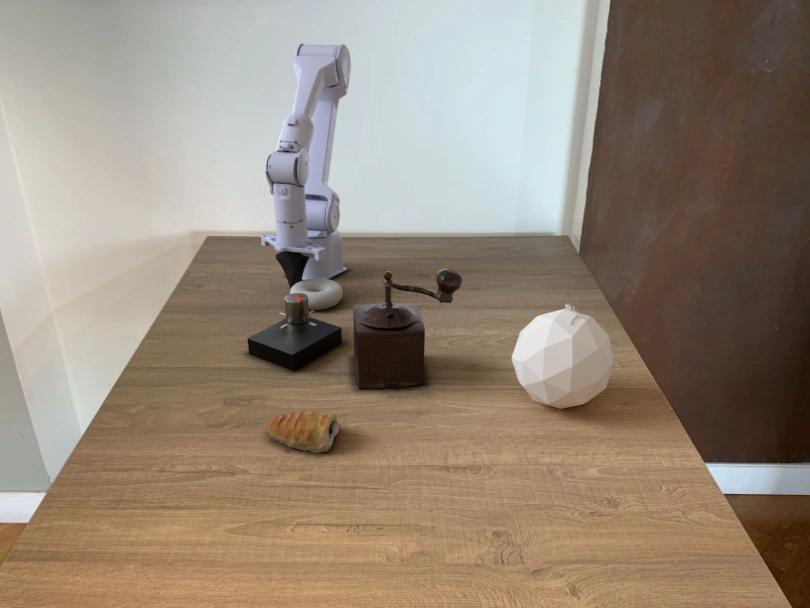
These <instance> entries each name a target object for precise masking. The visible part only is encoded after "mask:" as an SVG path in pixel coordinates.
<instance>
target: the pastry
mask: <svg viewBox="0 0 810 608" xmlns="http://www.w3.org/2000/svg"><path fill="white" fill-rule="evenodd" d="M266 430H267V432H268V434H269V436H270V437H271V438H272V439H273V440H274V441H275V442H279V443H280V444H283V445H285V446H287V447H288V448H292V449H295V450H299V451H300V450H301V451H309V452H310V453H315V454H316V453H317V454H319V453H325V452H328V451H329V450H330V448H331V447H332V445H333V443H334V438H335V437H336V436H337V435H338V434H339V431H340V425H339V421H338V418H337V416H336V415H335V414H334V413H333V412H330V413H326V412H322V411H315V410H312V409H307V410H305V411H303V412H302V411H301V412H289V413H285V414H281V415H278V416H276V417H274V418H273V419H272V420H271V421H270V422H269V423H267V425H266Z"/></svg>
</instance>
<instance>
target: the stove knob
mask: <svg viewBox="0 0 810 608" xmlns="http://www.w3.org/2000/svg"><path fill="white" fill-rule="evenodd" d="M283 299H284V300H283V301H284V314H285V315H286V316H285V319H286V321H287V322H288V323H290V324H303V323H306V322H308V321H309V319H310V318H309V317H310V314H309V312H310V310H309V301H308V296H307V295H306V294H303V293H292V294H290V293H289V294H286V295H285V296H284V297H283Z"/></svg>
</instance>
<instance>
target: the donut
mask: <svg viewBox="0 0 810 608" xmlns="http://www.w3.org/2000/svg"><path fill="white" fill-rule="evenodd" d="M292 293H303V294H306V295H307V296H308V301H309V311H312V310H313V311H319V310H326V309H329V308H332V307H334V306H336V305H338V304H339V303H340V302H341V300H342V299H343V293H344V292H343V288H342V287H341V285H340V284H339V283H337V282H336V281H334V280H332V279H330V278H329V279H323V278H312V279H306V280H302V281H300V282H298V283H296V284H295V285H294V286H293V287H292V288H291V289H290V290H289V294H292Z"/></svg>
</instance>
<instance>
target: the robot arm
mask: <svg viewBox="0 0 810 608" xmlns="http://www.w3.org/2000/svg"><path fill="white" fill-rule="evenodd" d="M292 58H293V59H292V65H293V66H292V67H293V70H294V74H295V78H296V81H297V84H296V91H295V96H294V101H293V107H292V112H291V114H289V115H287V116H286V117H284V119H283V123H282V126H281V130H280V134H279V138H278V140H277V144H276V147H275V151H273V153H270V154H269V155H268V156H267V159H266V162H265V170H264V171H265V178H266V181H267V183H268V185H269V192H270V194H271V195H272V196H273V207H274V209H273V210H274V221H275V234H273V233H264V234H262V235H261V236H260V241H261V242H260V243H261V246H262V247H272V248H274V251H276V252H278V253H276V254H275V259H276V261H277V262H278V264H279V265H280V267H281V268H282V271H283V273H284V275H285V278H286V281H287V283H288V286H289V289H290V290H291V288H292V287H293V286H294V285H295V284H296V283H298V282H300V281H302V280H306V279H312V278H323V279H329V280H330V279H331V278H333V277H335V276H337V275H340V274H343V273H344V272H346V271H347V267H345V266H344V248H343V237H342V236H341V233H340V232H339V231H338V227H339V226H340V225H339V224H340V218H341V212H340V211H341V209H340V203H341V199H340V196H339V195H338V193H337V191H335V190H334V188H332V186H330V185H329V177H330V170H331V163H332V155H333V147H334V139H335V132H336V125H337V124H336V123H337V116H338V110H339V104H340V100H341V99H343V98H344V97H345V96H346V95H347V94H348V90H349V87H350V80H351V79H350V78H351V72H352V61H351V60H352V59H351V53H350V50H349V48H348V47H347V45H345V44H304V43H299V44H297V46H296V47H295V49H294V51H293V55H292Z"/></svg>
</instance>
